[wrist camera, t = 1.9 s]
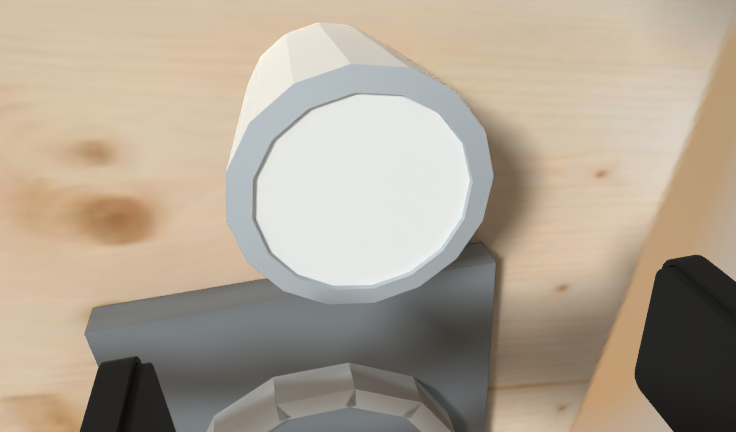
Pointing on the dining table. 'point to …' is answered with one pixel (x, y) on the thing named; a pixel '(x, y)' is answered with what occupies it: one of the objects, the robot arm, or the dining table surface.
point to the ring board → (315, 355)
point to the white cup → (352, 169)
